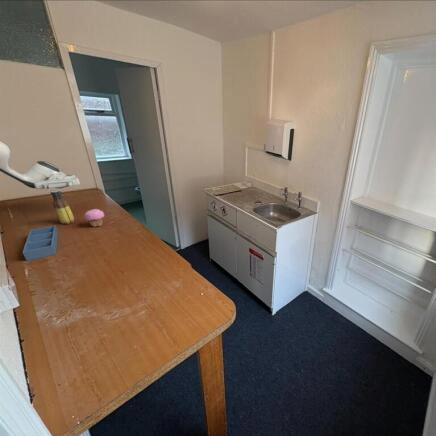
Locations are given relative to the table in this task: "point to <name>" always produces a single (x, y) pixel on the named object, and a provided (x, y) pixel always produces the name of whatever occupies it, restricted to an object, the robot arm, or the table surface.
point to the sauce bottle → (62, 208)
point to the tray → (41, 243)
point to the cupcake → (94, 217)
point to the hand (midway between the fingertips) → (57, 186)
